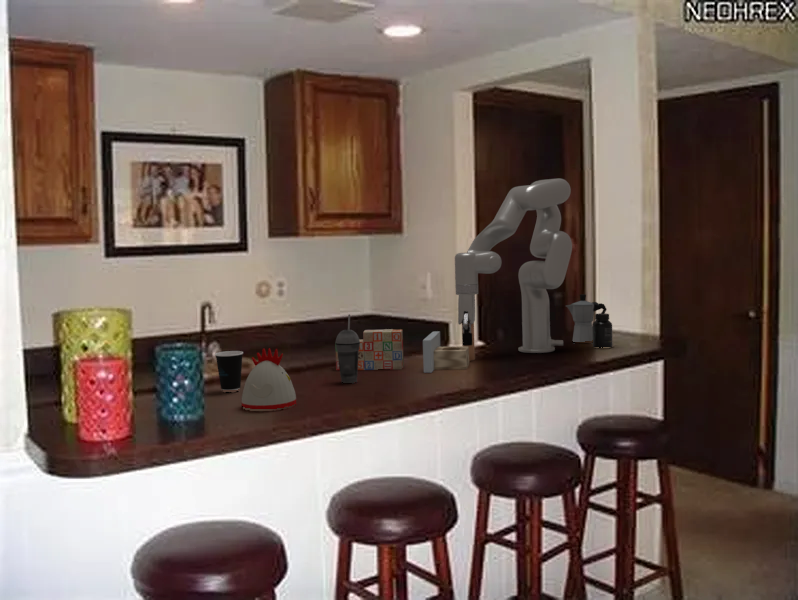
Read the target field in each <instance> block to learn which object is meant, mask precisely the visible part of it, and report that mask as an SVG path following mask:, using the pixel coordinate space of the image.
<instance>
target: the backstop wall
mask: <svg viewBox="0 0 798 600" xmlns="http://www.w3.org/2000/svg"><path fill="white" fill-rule="evenodd" d="M437 347H441V331H438V330H437V331H432V332H431V333H429V334H428V335H427V336H426V337H425V338H424V339H423V340H422V360H423V373H424V374H425V373H426V374H428V373H429V374H430V373H431V374H432V373H433V371H435V370H434V350H435V349H436V348H437Z"/></svg>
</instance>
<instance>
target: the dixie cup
mask: <svg viewBox="0 0 798 600" xmlns="http://www.w3.org/2000/svg"><path fill="white" fill-rule="evenodd" d="M243 354H244V351H242V350H241V351H240V350H230V351H229V350H227V351H220V352H219V351H218V352H216V353H214V356H215V361H216V364H217V365H216V366H217V370H218V371H217V372H218V378H219V379H218V380H219V385H220V389H221V391H222V390H238V389H241V387H242V385H241V384H242V370H243Z"/></svg>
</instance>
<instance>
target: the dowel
mask: <svg viewBox="0 0 798 600" xmlns="http://www.w3.org/2000/svg"><path fill="white" fill-rule="evenodd" d="M462 321H463V320H462ZM468 324H470V322H468ZM462 333H463V322H462V323H461V334H462ZM471 333H472V345H463V344H462V343H461V344H462V346H469V362H471V361H475V360H476V353H475V351H476V350H475V322H474V323H473V324H471Z"/></svg>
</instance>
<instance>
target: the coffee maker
mask: <svg viewBox="0 0 798 600" xmlns="http://www.w3.org/2000/svg"><path fill="white" fill-rule="evenodd" d="M586 297H587V294H579V298H580V300H579V301H576V302H573V303H571V304H567V305H565V307H566V308H567V309H568V311H569V312H570V314H571V316H572V321H573V322H574V326H573V334H572V341H573V342H585V341H592V340H593V334H592V324H593V322H594V318H595V312H596V311H599V310H601V309H602V311H601V313H606V312H607V307H606V305H605V304H604V303H599V302H597V301H592V302H591V301H588V300H586Z"/></svg>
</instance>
